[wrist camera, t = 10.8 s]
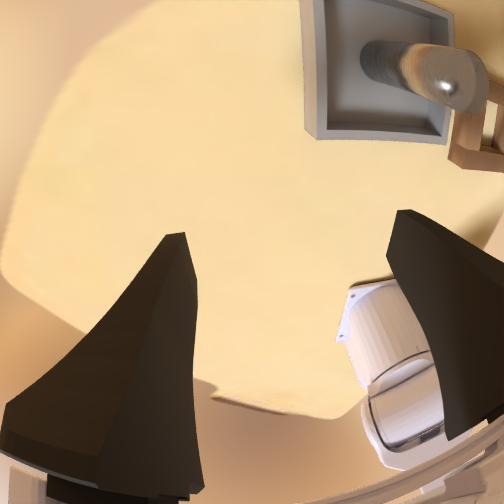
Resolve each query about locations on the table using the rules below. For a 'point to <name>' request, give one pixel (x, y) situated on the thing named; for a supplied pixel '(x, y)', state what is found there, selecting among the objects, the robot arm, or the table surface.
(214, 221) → the table surface
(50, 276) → the table surface
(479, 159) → the socket
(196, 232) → the table surface
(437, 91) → the pin
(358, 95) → the tray
